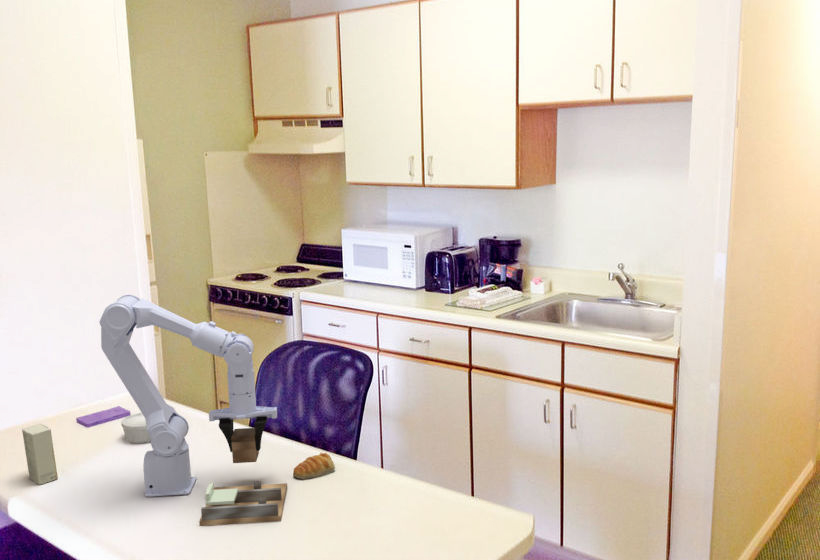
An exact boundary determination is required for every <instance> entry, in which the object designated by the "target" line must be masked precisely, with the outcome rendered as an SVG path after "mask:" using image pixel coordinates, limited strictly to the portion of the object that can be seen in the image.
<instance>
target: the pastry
mask: <svg viewBox="0 0 820 560" xmlns="http://www.w3.org/2000/svg"><path fill="white" fill-rule="evenodd" d="M335 469H336V465H335V464H334V461H333V459H332V457H331V455H330V454H328V453H327V452H324V453H323V452H320V453H319V454H318V455H316V454H315V455H312V456H309V457H306V458H305V460H303V461H302V462H300V463H298V464H297V465H296V466H295V467H294V468H293V474H292V476H293V477H295V478H297V479H301V480H306V479H312V478H314V479H315V478H318V477H323V476H325V475H328V474H331V473H333V472H334V471H335Z"/></svg>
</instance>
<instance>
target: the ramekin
mask: <svg viewBox="0 0 820 560" xmlns="http://www.w3.org/2000/svg"><path fill="white" fill-rule="evenodd" d="M120 423H121V427H122V430H123V433H124V437H125V440H126V441H127V442H129V443H130V444H136V445H137V444H139V445H140V444H148V442H149V443H151V438H150V435H149V433H148V432H147V429H146V420H145V417H144V415H143V414H142V412H137V413H134V414H133V413H132V414H131V415H130V416H127V417H124V418H122V420H121V422H120Z"/></svg>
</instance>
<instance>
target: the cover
mask: <svg viewBox="0 0 820 560" xmlns="http://www.w3.org/2000/svg"><path fill="white" fill-rule="evenodd" d="M214 487H215V484H214V483H213V482H212V483H209V484H208V486H207V489H206V491H205V493H204V496H205V497H204V498H205V502H204V503H205V506H206V505H219V504H234V502H235V499H236V496H237V493H238V488H235V489H218V490H214Z"/></svg>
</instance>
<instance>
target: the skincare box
mask: <svg viewBox="0 0 820 560" xmlns="http://www.w3.org/2000/svg"><path fill="white" fill-rule="evenodd" d="M21 431H22V433H21V434H22V439H23V444H24V445H23V446H24V451H25V458H26V463H27V464H26V465H27V473H28V478H29V479H30V480H32V482H34V483H35V484H36V485H39V486H41V485H44V484H46V483H49V482H53V481H55V480H57V479H58V477H59V476H58V472H57V462H56V457H55V456H56V455H55V450H54V442H53V436H52V435H53V434H52V428H50V427H48V426H47V425H45V424H42V423H39V424H35V425H32V426H28V427H25V428H22V429H21Z"/></svg>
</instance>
